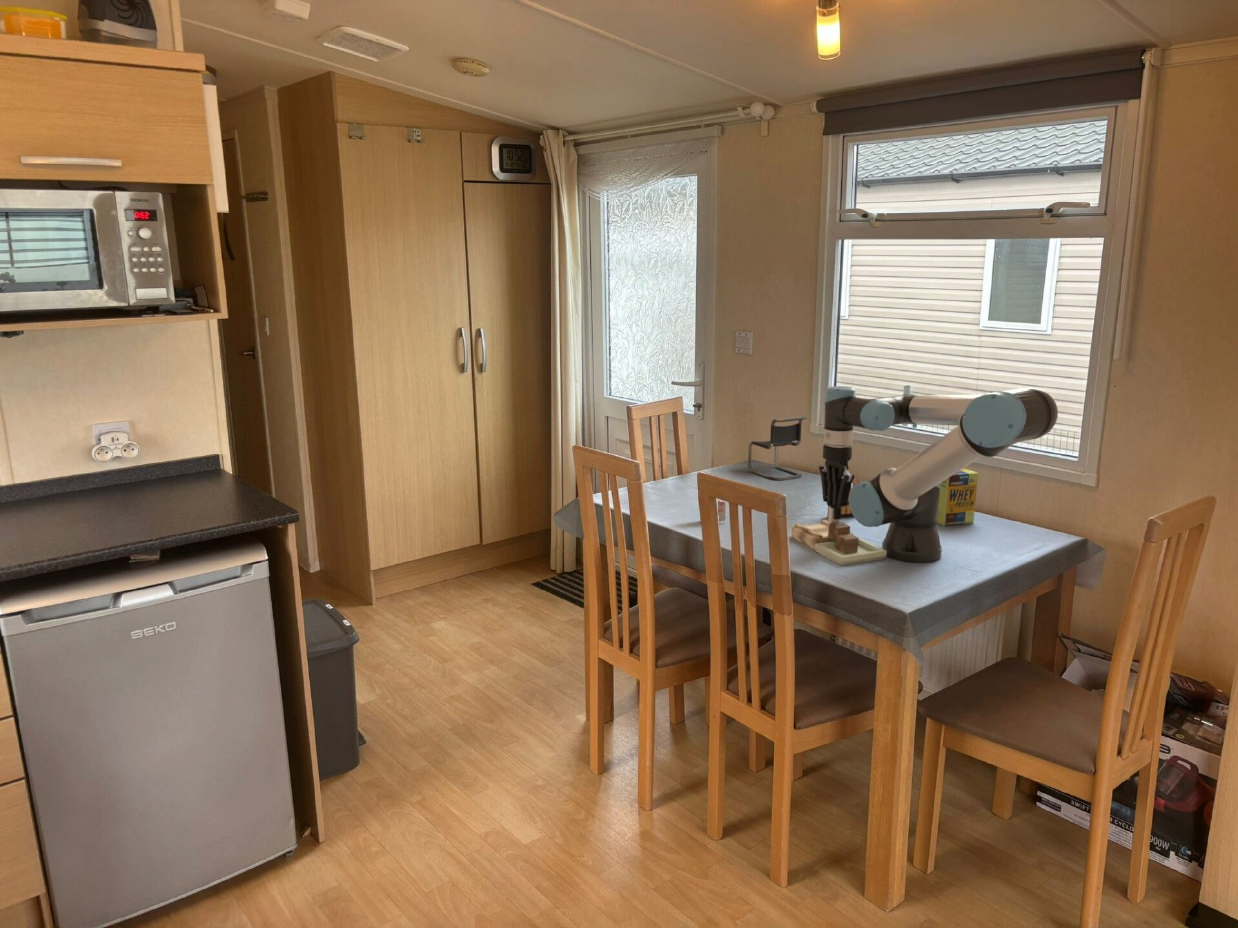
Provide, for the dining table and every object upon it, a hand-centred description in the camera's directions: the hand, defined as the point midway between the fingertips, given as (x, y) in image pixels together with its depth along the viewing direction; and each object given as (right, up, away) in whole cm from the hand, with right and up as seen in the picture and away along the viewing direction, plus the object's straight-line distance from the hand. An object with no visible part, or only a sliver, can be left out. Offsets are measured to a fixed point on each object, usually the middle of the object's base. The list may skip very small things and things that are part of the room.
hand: (833, 529), depth 247 cm
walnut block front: (+2, -3, -4) cm, 5 cm away
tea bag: (-31, 0, +23) cm, 38 cm away
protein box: (+40, +1, +28) cm, 48 cm away
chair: (-2, +14, +80) cm, 82 cm away
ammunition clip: (+10, +2, +28) cm, 30 cm away
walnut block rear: (+1, -2, -2) cm, 3 cm away
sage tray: (+3, -6, -6) cm, 9 cm away
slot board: (-2, -4, +6) cm, 7 cm away
